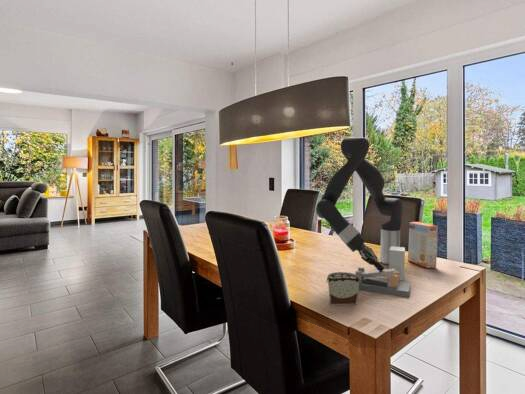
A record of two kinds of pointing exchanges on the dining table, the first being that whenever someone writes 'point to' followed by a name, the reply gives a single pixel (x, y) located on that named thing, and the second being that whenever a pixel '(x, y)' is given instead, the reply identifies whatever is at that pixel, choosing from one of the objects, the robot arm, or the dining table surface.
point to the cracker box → (423, 244)
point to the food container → (343, 288)
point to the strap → (378, 273)
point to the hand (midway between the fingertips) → (382, 270)
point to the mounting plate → (384, 284)
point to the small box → (397, 260)
